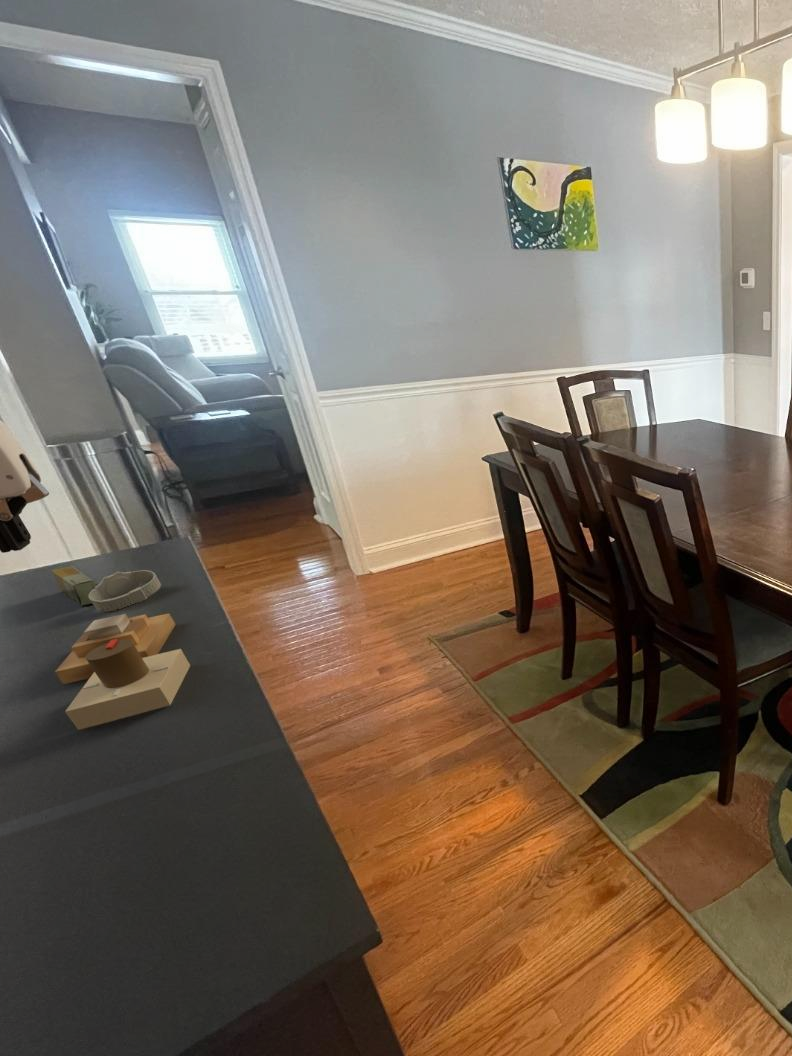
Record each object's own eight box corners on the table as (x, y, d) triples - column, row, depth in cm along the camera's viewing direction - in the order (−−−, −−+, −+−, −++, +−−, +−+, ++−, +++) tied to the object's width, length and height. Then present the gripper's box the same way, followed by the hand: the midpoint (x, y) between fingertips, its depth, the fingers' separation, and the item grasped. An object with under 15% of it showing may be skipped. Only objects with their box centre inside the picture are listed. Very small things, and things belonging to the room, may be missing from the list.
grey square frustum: (90, 642, 86) (83, 631, 85) (99, 630, 88) (93, 620, 88) (123, 634, 87) (116, 624, 86) (131, 623, 90) (125, 613, 89)
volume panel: (78, 730, 74) (63, 710, 73) (107, 686, 82) (95, 667, 80) (170, 705, 78) (158, 686, 76) (190, 665, 86) (180, 647, 84)
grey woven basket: (153, 585, 109) (139, 561, 107) (173, 590, 107) (159, 566, 104) (88, 610, 101) (72, 584, 99) (108, 616, 99) (92, 590, 97)
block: (63, 684, 83) (47, 661, 81) (96, 642, 92) (82, 620, 90) (152, 662, 87) (138, 640, 85) (175, 624, 96) (163, 603, 94)
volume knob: (143, 680, 78) (124, 650, 75) (98, 692, 76) (77, 661, 74) (153, 663, 81) (135, 634, 79) (110, 674, 79) (91, 644, 77)
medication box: (103, 601, 104) (94, 580, 103) (81, 607, 102) (72, 585, 101) (79, 584, 110) (71, 564, 108) (58, 589, 108) (49, 569, 106)
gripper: (-195, 419, 64) (-86, 572, 71) (3, 403, 70) (82, 545, 78) (-145, 407, 69) (-50, 550, 77) (33, 394, 76) (104, 527, 84)
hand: (16, 547), depth 78 cm, fingers closed
